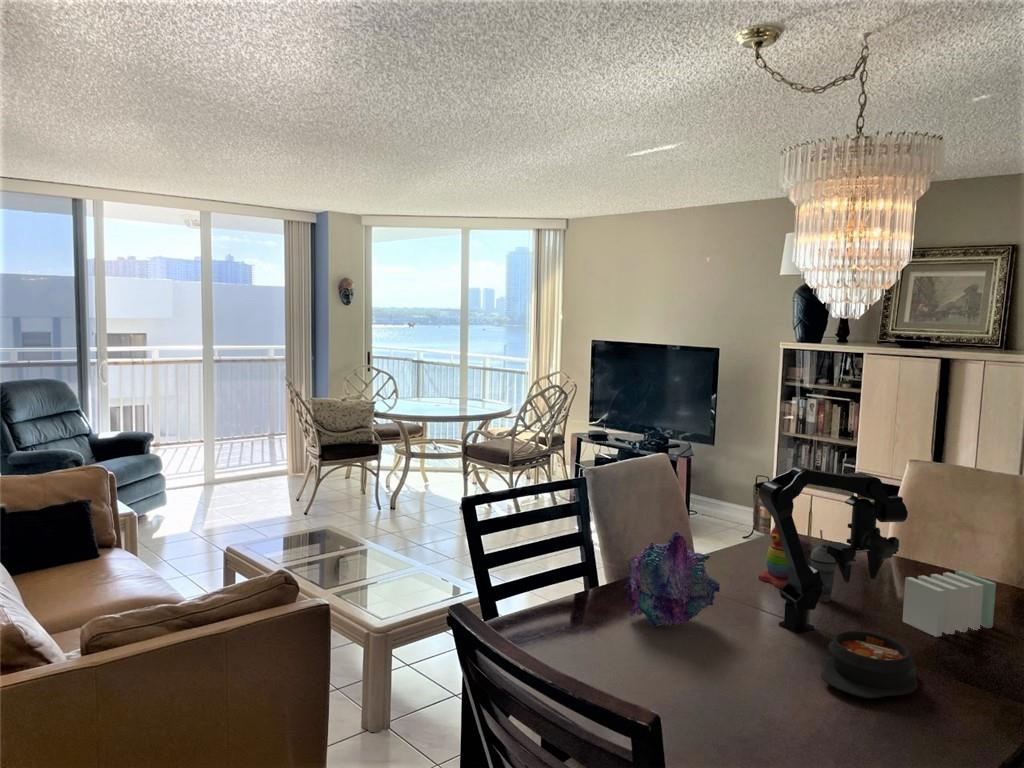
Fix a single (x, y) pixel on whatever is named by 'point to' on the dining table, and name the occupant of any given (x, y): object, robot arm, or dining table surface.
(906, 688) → the casserole
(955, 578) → the domino
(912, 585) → the domino
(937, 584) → the domino
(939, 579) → the domino
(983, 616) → the domino
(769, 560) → the stacking bear
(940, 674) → the dining table surface
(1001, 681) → the dining table surface
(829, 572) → the beverage cup
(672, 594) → the coral
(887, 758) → the dining table surface
